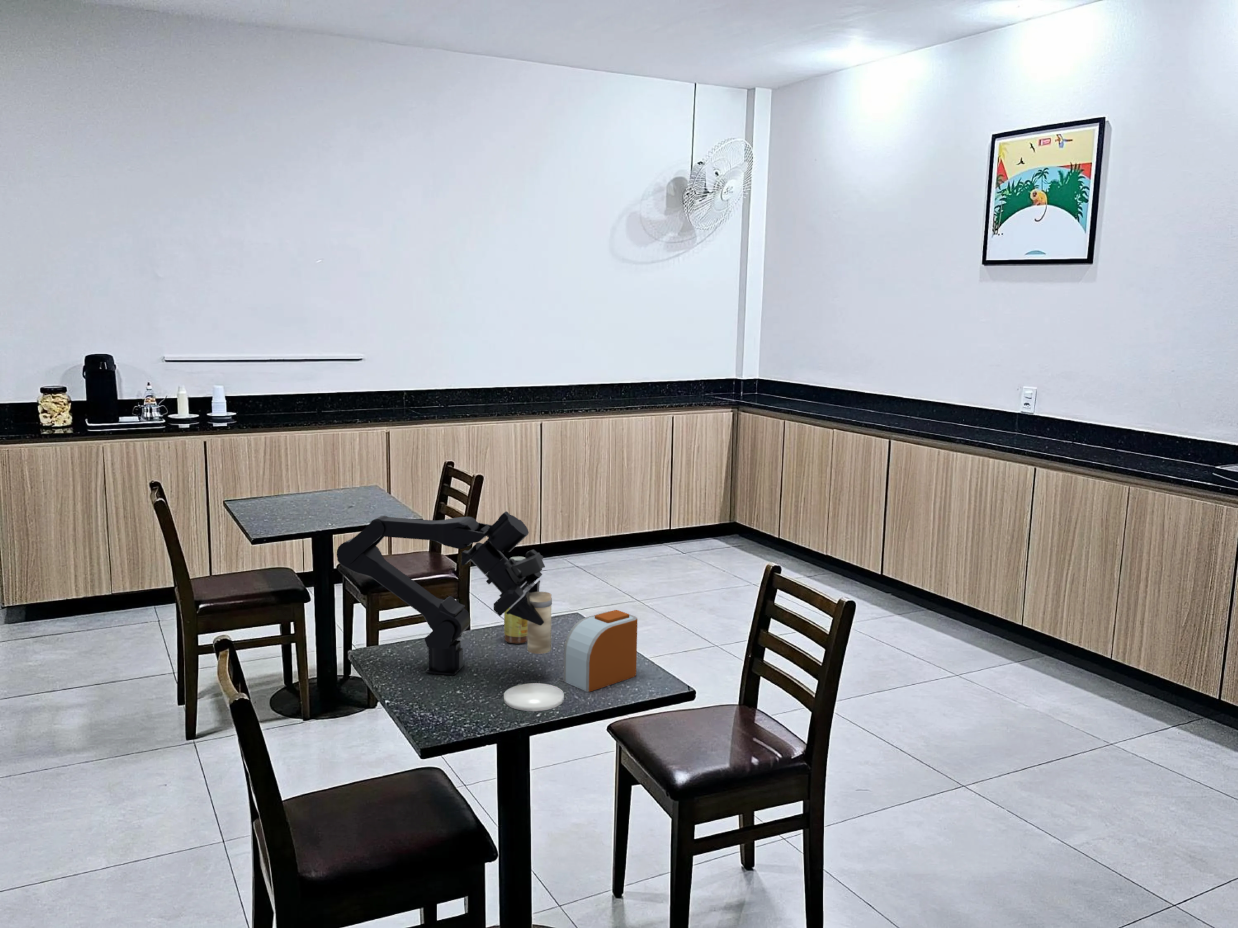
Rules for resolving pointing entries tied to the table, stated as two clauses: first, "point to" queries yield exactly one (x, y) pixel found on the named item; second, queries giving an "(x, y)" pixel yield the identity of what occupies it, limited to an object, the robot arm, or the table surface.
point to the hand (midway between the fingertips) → (545, 620)
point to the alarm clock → (601, 650)
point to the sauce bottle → (515, 624)
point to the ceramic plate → (533, 697)
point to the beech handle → (539, 634)
